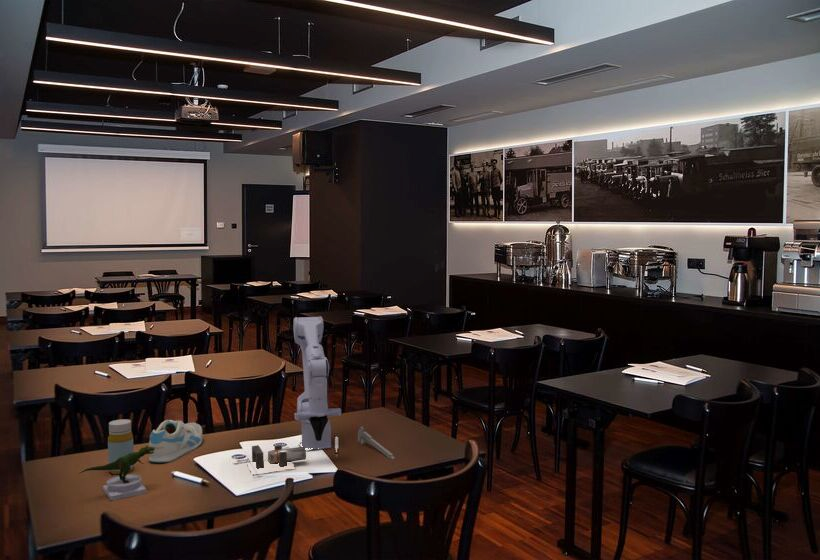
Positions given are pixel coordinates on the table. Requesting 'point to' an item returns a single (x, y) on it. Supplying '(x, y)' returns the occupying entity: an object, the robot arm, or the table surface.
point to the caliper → (372, 442)
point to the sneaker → (174, 440)
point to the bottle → (119, 441)
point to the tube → (292, 455)
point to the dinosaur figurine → (124, 476)
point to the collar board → (258, 456)
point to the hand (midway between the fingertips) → (318, 439)
